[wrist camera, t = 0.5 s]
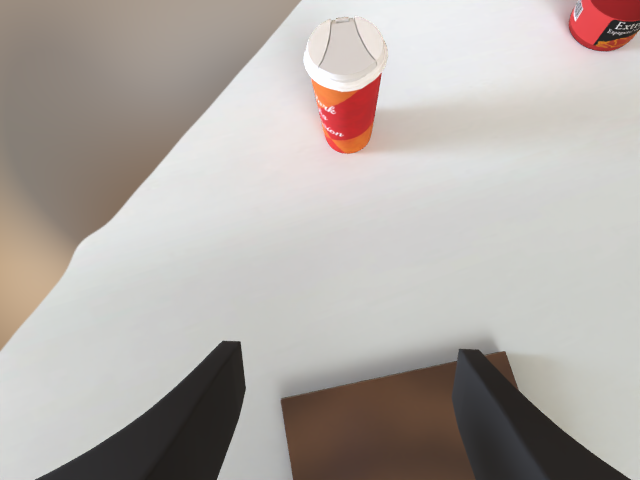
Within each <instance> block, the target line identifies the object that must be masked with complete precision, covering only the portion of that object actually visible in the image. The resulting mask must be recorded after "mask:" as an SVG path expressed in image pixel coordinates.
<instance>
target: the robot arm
mask: <svg viewBox="0 0 640 480" xmlns="http://www.w3.org/2000/svg"><path fill="white" fill-rule="evenodd" d="M245 390H246V386H245V377H244V368H243V360H242V351H241V342H240V341H222V342H221V343H220V344H219V345H218V346H217V347H216V348H215V349H214V350H213V351H212V352H211V353H210V354H209V355H208V356H207V357H206V358H205V359H204V360H203V361H202V362H201V363H200V364H199V365H198V366H197V367H196V368H195V369H194V370H193V371H192V372H191V373H190V374H189V375H188V376H187V377H186V378H185V379H184V380H182V381H181V382H180V383H179V384H178V385H177V386H176V387H175V388H174V389H173V390H171V391H170V392H169V393H168V394H167V395H166V396H165V397H163V398H162V399H161V400H160V401H159V402H158V403H157V404H155V405H154V406H153V407H152V408H150V409H149V410H148V411H147V412H145V413H144V414H143V415H141V416H140V417H139V418H137V419H136V420H135V421H133V422H132V423H130V424H129V425H128V426H126V427H125V428H123V429H122V430H120V431H119V432H117V433H116V434H114V435H113V436H111V437H110V438H108V439H106V440H105V441H103V442H102V443H100V444H99V445H97V446H96V447H94V448H92V449H91V450H89V451H87V452H86V453H84V454H82V455H81V456H79V457H77V458H75V459H74V460H72V461H70V462H68V463H66V464H65V465H63V466H61V467H59V468H57V469H55V470H53V471H52V472H50V473H48V474H46V475H44V476H42V477H40V478H37V479H35V480H217V478H218V475H219V472H220V469H221V467H222V464H223V461H224V458H225V456H226V453H227V450H228V447H229V445H230V442H231V439H232V436H233V433H234V431H235V428H236V425H237V422H238V419H239V416H240V412H241V408H242V403H243V399H244V394H245ZM452 402H453V407H454V412H455V417H456V421H457V425H458V429H459V432H460V435H461V438H462V441H463V444H464V447H465V450H466V453H467V456H468V459H469V462H470V465H471V468H472V470H473V473H474V476H475V479H476V480H631V479H629V478H628V477H626V476H625V475H623V474H622V473H620V472H619V471H617V470H616V469H614V468H613V467H611V466H610V465H608V464H607V463H606V462H604V461H603V460H601V459H600V458H598V457H597V456H596V455H594V454H593V453H591V452H590V451H589V450H587V449H586V448H585V447H584V446H582V445H581V444H580V443H578V442H577V441H576V440H574V439H573V438H572V437H571V436H569V435H568V434H567V433H565V432H564V431H563V430H562V429H561V428H559V427H558V426H557V425H556V424H555V423H553V422H552V421H551V420H550V419H549V418H548V417H547V416H545V415H544V414H543V413H542V412H541V411H540V410H539V409H538V408H536V407H535V406H534V405H533V404H532V403H531V402H530V401H529V400H528V399H527V398H526V397H525V396H524V395H523V394H522V393H521V392H519V391H518V390H517V389H516V388H515V387H514V386H513V385H512V384H511V383H510V382H509V381H508V380H507V379H506V378H505V377H504V376H503V374H502V373H501V372H500V371H499V370H498V369H497V368H496V367H495V366H494V365H493V364H492V363H491V362H490V361H489V360H488V359H487V358H486V357H485V356H484V355H483V354H482V353H481V352H480V351H479V350H473V349H459V353H458V360H457V366H456V372H455V379H454V385H453V391H452Z"/></svg>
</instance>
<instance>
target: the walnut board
mask: <svg viewBox="0 0 640 480" xmlns="http://www.w3.org/2000/svg"><path fill="white" fill-rule="evenodd" d="M484 356H485V357H486V358H487V359H488V360H489V361H490V362H491V363H492V364H493V365H494V366H495V367H496V368H497V369H498V370H499V371H500V372H501V373H502V374H503V376H504V377H505V378H506V379H507V380H508V381H509V382H510V383H511V384H512V385H513V386H514V387H515V388H516V389H517V390H518V387H517V384H516V381H515V378H514V376H513V373H512V370H511V367H510V364H509V361H508V358H507V355H506V352H505V351H502V352H496V353H492V354H487V355H484ZM456 366H457V361H454V362H449V363H445V364H440V365H435V366H431V367H426V368H421V369H417V370H412V371H407V372H403V373H398V374H393V375H389V376H384V377H379V378H374V379H370V380H365V381H360V382H356V383H351V384H346V385H342V386H337V387H332V388H328V389H323V390H318V391H314V392H309V393H304V394H300V395H295V396H290V397H285V398H282V399H281V405H282V411H283V417H284V424H285V430H286V437H287V443H288V449H289V456H290V462H291V468H292V475H293V480H476V479H475V476H474V473H473V470H472V468H471V465H470V462H469V459H468V456H467V453H466V450H465V447H464V444H463V441H462V438H461V435H460V432H459V429H458V425H457V421H456V417H455V412H454V407H453V402H452V391H453V385H454V379H455V372H456ZM518 391H519V390H518Z"/></svg>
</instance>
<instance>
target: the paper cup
mask: <svg viewBox="0 0 640 480" xmlns="http://www.w3.org/2000/svg"><path fill="white" fill-rule="evenodd" d="M387 58H388V50H387V46H386V43H385V41H384V40H383V37H382V35H381V33H380V31H379V30H378V28H377V27H376V26H375V25H374V24H373V23H371V22H370V21H368V20H366V19H364V18H361V17H358V16H354V19H353V18H349V17H342V18H336V20H332V22H331V19H329V20H327V21H325V22H323V23H322V24H320V25H319V26H318V27H317V28H316V29H315V30H314V31H313V33H312V34H311V36H310V38H309V40H308V44H307V47H306V49H305V53H304V64H305V68H306V71H307V72H308V74H309V75H310V77H311V80H312V84H313V88H314V92H315V97H316V101H317V105H318V109H319V113H320V118H321V122H322V126H323V130H324V133H325V137H326V140H327V142H328V144H329V145H330V146H331V147H332V148H333V149H334V150H336V151H338V152H340V153H347V154H348V153H355V152H357V151H360V150H361V149H363V148H364V147H365V146H366V145H367V143H368V142H369V140H370V137H371V133H372V128H373V122H374V116H375V111H376V105H377V98H378V92H379V86H380V80H381V74H382V71H383V69H384V68H385V65H386V63H387Z"/></svg>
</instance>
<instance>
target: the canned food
mask: <svg viewBox="0 0 640 480" xmlns="http://www.w3.org/2000/svg"><path fill="white" fill-rule="evenodd" d="M569 28H570V31H571V34H572V35H573V37H574V38H575V39H576V40H577V41H578V42H579V43H580V44H582V45H583V46H585V47H587V48H590V49H593V50H597V51H611V50H615V49H618V48H620V47H622V46H623V45H625V44H626V43H628V42H629V41H630V40H631V39H632V38H633V37H634V36H635V35H636V34H637V32H638V31H639V30H640V0H579V1H578V2H577V4H576V6H575V7H574V9H573V11H572V13H571V17H570V21H569Z"/></svg>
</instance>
